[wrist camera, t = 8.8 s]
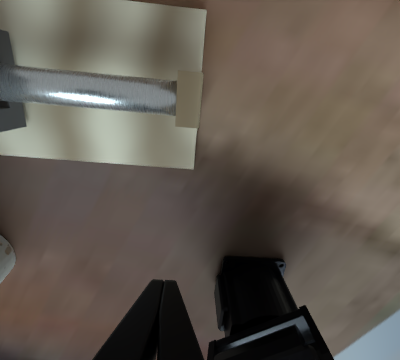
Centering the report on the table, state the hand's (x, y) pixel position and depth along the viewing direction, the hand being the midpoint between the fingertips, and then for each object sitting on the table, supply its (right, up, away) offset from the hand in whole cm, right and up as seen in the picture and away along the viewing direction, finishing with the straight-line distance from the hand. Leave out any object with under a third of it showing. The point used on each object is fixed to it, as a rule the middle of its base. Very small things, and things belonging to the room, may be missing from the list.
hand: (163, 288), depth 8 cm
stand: (-8, +11, +9) cm, 16 cm away
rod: (-8, +10, +6) cm, 14 cm away
